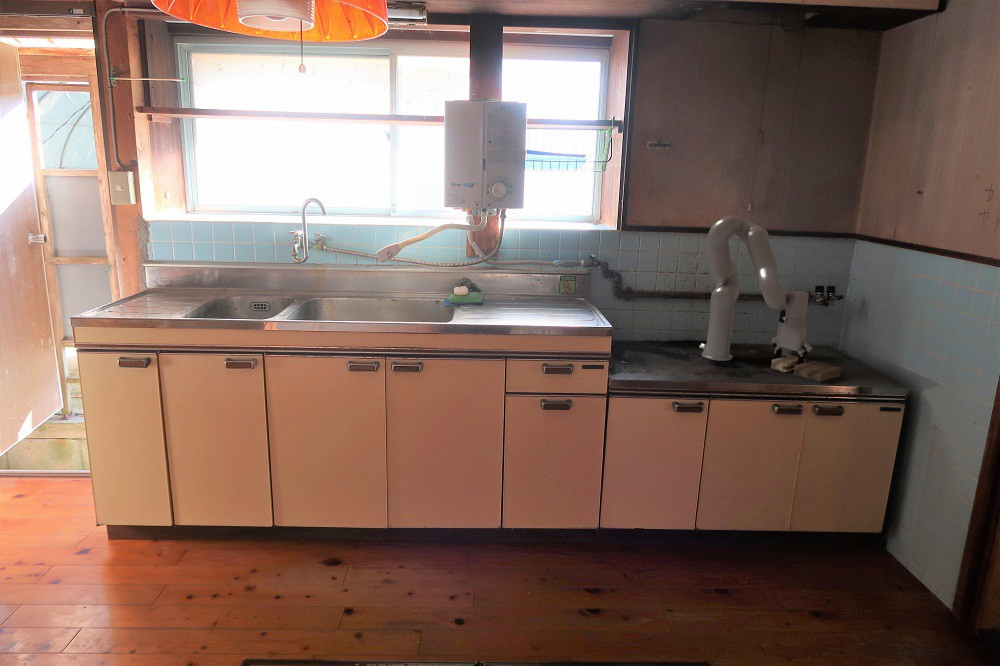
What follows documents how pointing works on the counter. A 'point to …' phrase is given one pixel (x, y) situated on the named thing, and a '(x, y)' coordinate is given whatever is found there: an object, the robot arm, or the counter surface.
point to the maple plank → (785, 363)
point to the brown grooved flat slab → (816, 371)
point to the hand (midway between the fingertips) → (788, 362)
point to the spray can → (782, 314)
